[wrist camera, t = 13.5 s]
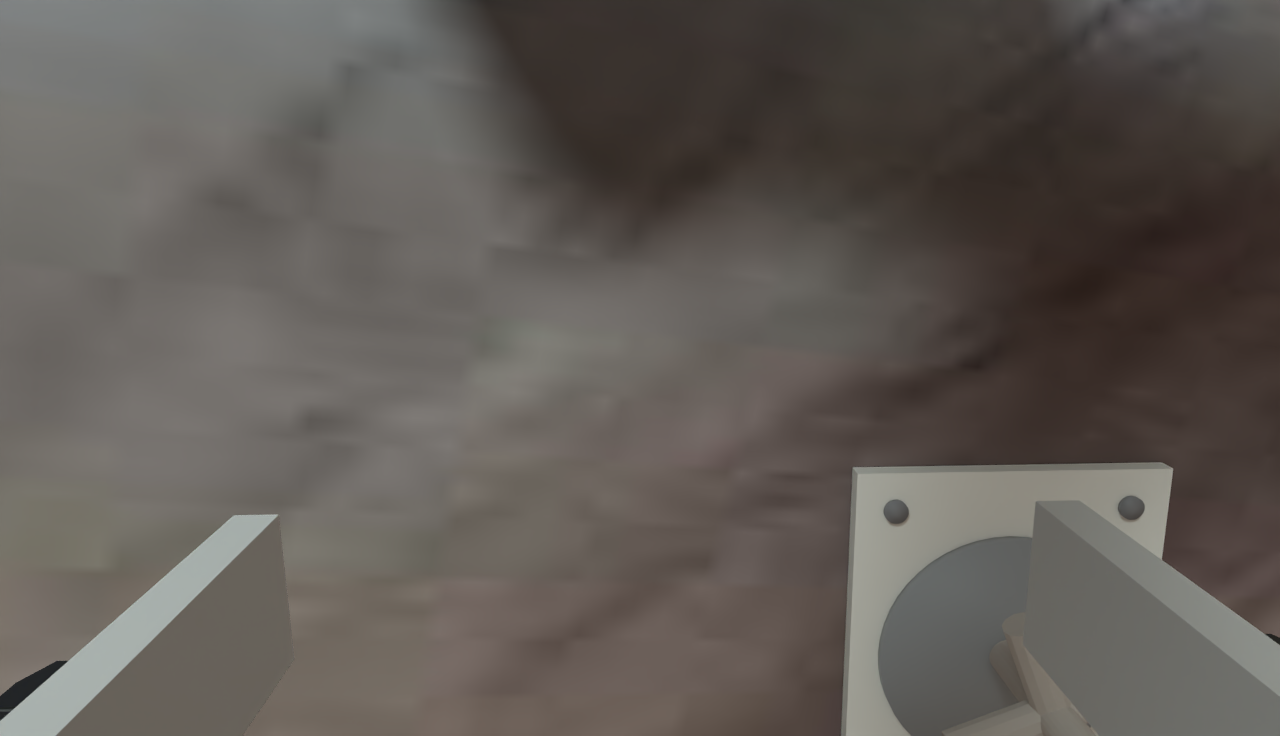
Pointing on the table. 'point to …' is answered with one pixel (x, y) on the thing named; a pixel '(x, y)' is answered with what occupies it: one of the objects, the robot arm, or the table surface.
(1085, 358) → the table surface
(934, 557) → the duct panel
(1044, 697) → the pipe connector
